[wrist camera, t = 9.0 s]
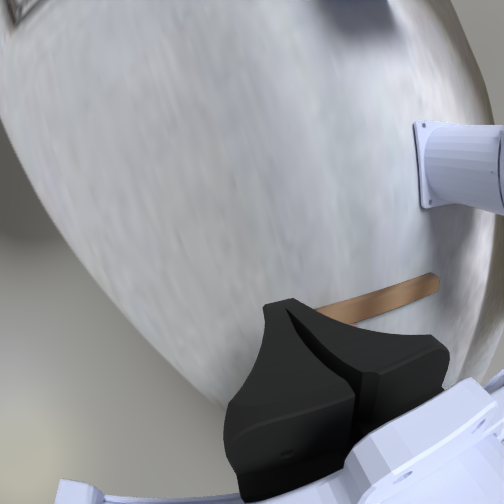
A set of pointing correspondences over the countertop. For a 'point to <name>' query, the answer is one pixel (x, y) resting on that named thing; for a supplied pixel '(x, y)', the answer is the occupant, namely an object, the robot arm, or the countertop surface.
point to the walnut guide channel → (382, 299)
